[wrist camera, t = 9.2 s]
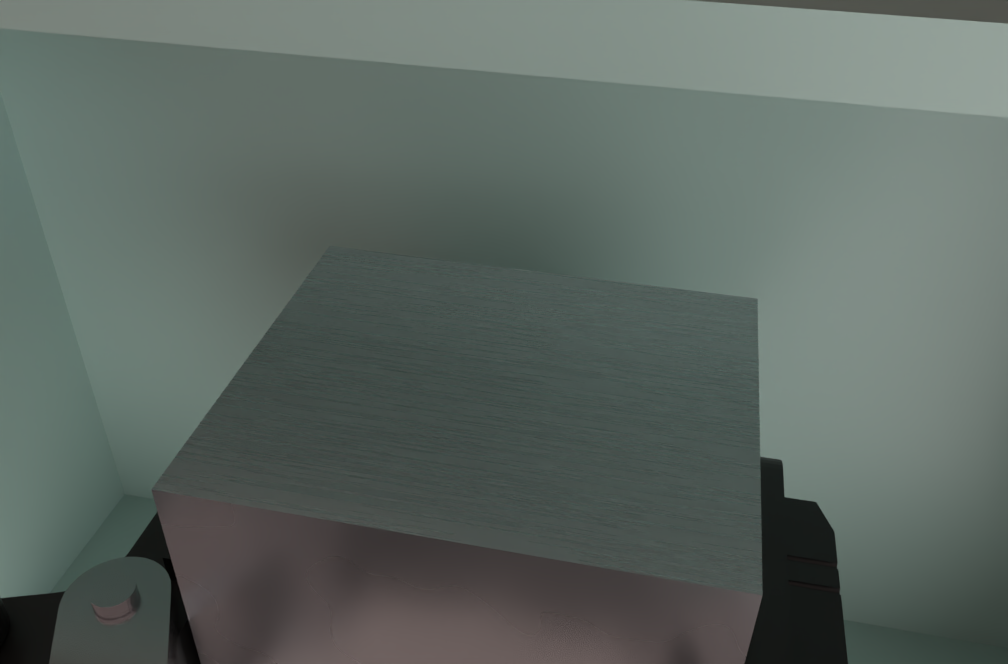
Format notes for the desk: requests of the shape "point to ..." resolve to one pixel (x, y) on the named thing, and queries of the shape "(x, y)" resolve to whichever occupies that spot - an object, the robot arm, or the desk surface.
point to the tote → (524, 238)
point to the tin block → (476, 474)
